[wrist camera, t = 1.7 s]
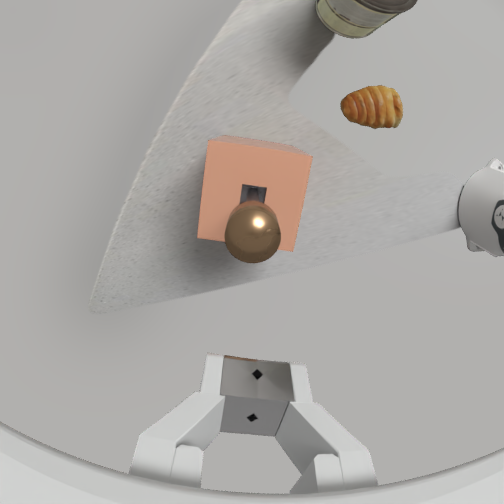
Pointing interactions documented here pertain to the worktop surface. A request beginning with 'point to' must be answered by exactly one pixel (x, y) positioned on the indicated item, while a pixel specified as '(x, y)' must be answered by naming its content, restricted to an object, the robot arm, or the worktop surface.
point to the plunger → (252, 227)
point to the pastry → (373, 107)
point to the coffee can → (359, 15)
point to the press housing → (253, 183)
